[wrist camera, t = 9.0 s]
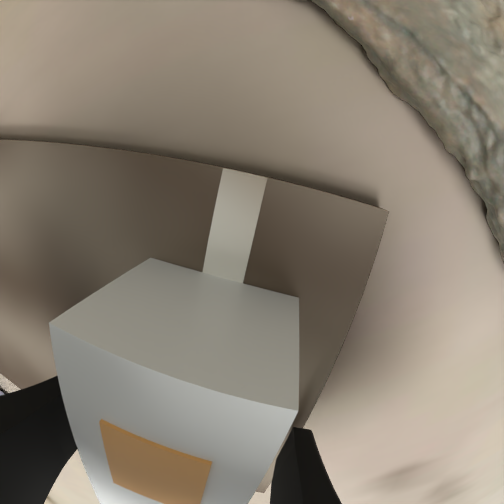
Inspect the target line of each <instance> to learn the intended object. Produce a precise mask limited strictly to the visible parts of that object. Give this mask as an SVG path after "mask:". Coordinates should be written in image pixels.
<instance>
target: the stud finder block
mask: <svg viewBox="0 0 504 504" xmlns="http://www.w3.org/2000/svg"><path fill="white" fill-rule="evenodd" d="M49 327H50V335H51V342H52V348H53V354H54V360H55V366H56V371H57V376H58V380H59V385H60V389H61V394H62V398H63V402H64V406H65V409H66V413H67V417H68V420H69V424H70V427H71V430H72V433H73V436H74V440H75V443H76V446H77V448H78V451H79V454H80V457H81V460H82V462H83V465H84V467H85V470H86V473H87V475H88V477H89V480H90V482H91V485H92V487H93V489H94V491H95V494H96V496H97V498H98V500H99V502H100V504H248V503H249V501H250V499H251V498H252V496H253V494H254V493H255V491H256V489H257V488H258V486H259V484H260V483H261V481H262V479H263V477H264V476H265V474H266V472H267V470H268V469H269V467H270V465H271V463H272V461H273V460H274V458H275V456H276V454H277V452H278V450H279V448H280V447H281V445H282V443H283V441H284V439H285V437H286V435H287V433H288V431H289V429H290V427H291V425H292V423H293V421H294V419H295V417H296V415H297V413H298V409H299V298H298V297H294V296H290V295H286V294H282V293H278V292H274V291H270V290H266V289H263V288H259V287H255V286H251V285H247V284H244V283H240V282H236V281H232V280H229V279H225V278H221V277H218V276H214V275H210V274H207V273H203V272H199V271H196V270H192V269H189V268H185V267H182V266H178V265H175V264H171V263H168V262H164V261H161V260H157V259H154V258H149V259H147V260H146V261H144V262H142V263H141V264H139V265H138V266H136V267H134V268H133V269H131V270H129V271H128V272H126V273H125V274H123V275H121V276H120V277H118V278H117V279H115V280H113V281H112V282H110V283H109V284H107V285H105V286H104V287H102V288H101V289H99V290H98V291H96V292H95V293H93V294H91V295H90V296H88V297H87V298H85V299H84V300H82V301H81V302H79V303H78V304H76V305H75V306H73V307H71V308H70V309H68V310H67V311H65V312H64V313H62V314H61V315H59V316H58V317H56V318H55V319H54V320H52V321H51V322H49Z"/></svg>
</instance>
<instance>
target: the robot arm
mask: <svg viewBox="0 0 504 504" xmlns="http://www.w3.org/2000/svg"><path fill="white" fill-rule="evenodd" d="M77 449H78V448H77V446H76V443H75V440H74V436H73V433H72V430H71V427H70V424H69V420H68V417H67V413H66V409H65V406H64V402H63V398H62V394H61V389H60V385H59V380H58V376H55V377H53V378H51V379H48V380H46V381H43V382H41V383H38V384H36V385H33V386H30V387H27V388H24V389H22V390H19V391H15V392H12V393H8V394H4V393H3V392H2V391H0V504H44V502H45V500H46V498H47V496H48V494H49V492H50V490H51V488H52V486H53V484H54V482H55V481H56V479H57V477H58V475H59V474H60V472H61V470H62V468H63V467H64V466H65V464H66V463H67V461H68V460H69V459H70V457H71V456H72V455H73V454H74V452H75V451H76V450H77ZM270 504H342V503H341V501H340V499H339V498H338V496H337V494H336V492H335V490H334V488H333V485H332V483H331V481H330V479H329V476H328V474H327V472H326V469H325V467H324V464H323V462H322V459H321V456H320V454H319V451H318V448H317V445H316V442H315V439H314V436H313V433H312V431H311V430H309V429H303V428H297V427H293V428H292V430H291V432H290V434H289V436H288V438H287V440H286V442H285V443H284V445H283V447H282V449H281V451H280V453H279V455H278V456H277V458H276V462H275V467H274V472H273V478H272V484H271V498H270Z"/></svg>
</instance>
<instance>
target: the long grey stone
mask: <svg viewBox="0 0 504 504" xmlns="http://www.w3.org/2000/svg"><path fill="white" fill-rule="evenodd" d="M311 1H312V2H314V3H315V4H317V5H318V6H319V7H321V8H323V9H324V10H325V11H326V12H327V13H328V15H329V16H330V17H332V18H333V19H334V21H335V23H336V24H337V25H339V26H340V27H342V28H343V29H344V30H345V31H346V32H347V33H348V34H349V35H350V36H351V37H352V38H354V39H355V40H357V41H358V42H359V43H360V44H361V45H362V46H363V48H364V50H365V51H366V53H367V57H368V59H369V60H370V61H371V62H372V63H373V64H374V65H375V66H376V67H377V68H378V73H379V75H380V76H381V78H382V79H383V80H384V81H385V82H386V84H387V86H388V88H389V89H390V90H391V91H392V93H393V94H394V95H396V96H398V97H399V98H400V99H401V100H403V101H406V102H407V103H409V104H410V105H411V106H412V107H413V108H415V109H416V110H418V111H419V112H420V113H421V115H422V116H423V117H424V118H425V120H426V121H427V123H428V125H429V126H430V127H432V128H433V129H434V130H435V131H436V132H437V135H438V137H439V138H440V139H441V141H442V142H443V143H444V147H445V149H446V150H447V151H448V152H449V153H451V154H452V155H454V156H455V157H456V159H457V160H458V161H459V162H460V163H461V164H462V166H463V167H464V168H465V172H466V177H467V178H468V179H469V180H470V184H471V187H472V188H473V190H474V191H475V192H476V193H477V194H479V196H480V197H481V198H482V199H483V201H484V202H485V205H486V207H487V215H486V219H487V222H488V224H489V227H490V229H491V231H492V233H493V235H494V237H495V238H496V239H497V240H498V242H499V246H500V251H501V256H502V259H503V262H504V0H311Z"/></svg>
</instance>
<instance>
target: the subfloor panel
mask: <svg viewBox="0 0 504 504" xmlns="http://www.w3.org/2000/svg"><path fill="white" fill-rule="evenodd" d="M388 214H389V211H387V210H384V209H382V208H379V207H376V206H373V205H370V204H366V203H363V202H360V201H356V200H353V199H350V198H346V197H343V196H339V195H336V194H332V193H329V192H325V191H321V190H318V189H314V188H310V187H306V186H302V185H299V184H295V183H291V182H287V181H283V180H279V179H274V178H270V177H266V176H262V175H257V174H253V173H249V172H244V171H239V170H235V169H230V168H225V167H220V166H216V165H211V164H205V163H200V162H195V161H190V160H184V159H178V158H173V157H167V156H161V155H154V154H148V153H142V152H135V151H128V150H120V149H113V148H105V147H97V146H88V145H78V144H68V143H57V142H44V141H29V140H9V139H0V373H1V374H2V375H3V376H5V377H6V378H7V379H8V380H10V381H11V382H12V383H13V384H15V385H16V386H17V387H19V388H20V389H21V390H22V389H24V388H27V387H30V386H33V385H36V384H38V383H41V382H43V381H46V380H48V379H51V378H53V377H55V376H57V371H56V366H55V360H54V354H53V348H52V342H51V335H50V327H49V322H51V321H52V320H54V319H55V318H56V317H58V316H59V315H61V314H62V313H64V312H65V311H67V310H68V309H70V308H71V307H73V306H75V305H76V304H78V303H79V302H81V301H82V300H84V299H85V298H87V297H88V296H90V295H91V294H93V293H95V292H96V291H98V290H99V289H101V288H102V287H104V286H105V285H107V284H109V283H110V282H112V281H113V280H115V279H117V278H118V277H120V276H121V275H123V274H125V273H126V272H128V271H129V270H131V269H133V268H134V267H136V266H138V265H139V264H141V263H142V262H144V261H146V260H147V259H149V258H154V259H157V260H161V261H164V262H168V263H171V264H175V265H178V266H182V267H185V268H189V269H192V270H196V271H199V272H203V273H207V274H210V275H214V276H218V277H221V278H225V279H229V280H232V281H236V282H240V283H244V284H247V285H251V286H255V287H259V288H263V289H266V290H270V291H274V292H278V293H282V294H286V295H290V296H294V297H298V298H299V409H298V413H297V415H296V417H295V419H294V421H293V423H292V425H291V427H290V429H289V431H288V433H287V435H286V437H285V439H284V441H283V443H282V445H281V447H280V448H279V450H278V452H277V454H276V456H275V458H274V460H273V461H272V463H271V465H270V467H269V469H268V470H267V472H266V474H265V476H264V477H263V479H262V481H261V483H260V484H259V486H258V488H257V489H256V492H261V493H264V492H265V491H266V489H267V488H268V486H269V485H270V483H271V481H272V478H273V472H274V467H275V462H276V458H277V456H278V455H279V453H280V451H281V449H282V447H283V445H284V443H285V442H286V440H287V438H288V436H289V434H290V432H291V430H292V428H293V427H297V428H303V427H304V425H305V423H306V421H307V419H308V417H309V415H310V413H311V411H312V409H313V408H314V406H315V404H316V402H317V400H318V398H319V396H320V393H321V391H322V389H323V387H324V385H325V383H326V381H327V379H328V377H329V375H330V372H331V370H332V368H333V366H334V364H335V361H336V359H337V357H338V355H339V352H340V350H341V348H342V345H343V343H344V341H345V338H346V336H347V333H348V331H349V328H350V326H351V323H352V321H353V318H354V316H355V313H356V311H357V308H358V305H359V303H360V300H361V297H362V295H363V292H364V289H365V286H366V284H367V281H368V278H369V275H370V272H371V269H372V266H373V263H374V260H375V257H376V254H377V251H378V248H379V244H380V241H381V238H382V234H383V231H384V228H385V224H386V221H387V217H388Z"/></svg>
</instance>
